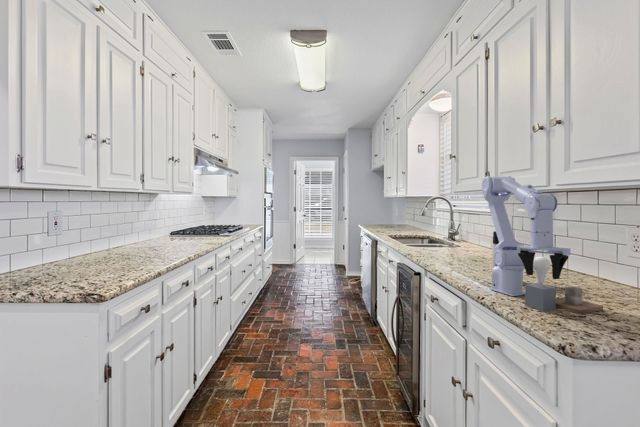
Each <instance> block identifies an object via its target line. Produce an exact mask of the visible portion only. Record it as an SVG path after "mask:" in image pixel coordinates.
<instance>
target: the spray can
mask: <svg viewBox="0 0 640 427" xmlns="http://www.w3.org/2000/svg"><path fill="white" fill-rule="evenodd" d="M492 233H493V234H492V259H491V260H492V261H491V263H492V265H491V271H492V270H493V268H494V267H495V266H497V264H496V263H495V261H494V250H493V249H494V247H495V246H496V245H497V244H498V243H499V240H498V237H497V233H496V230H494V231H493V232H492Z"/></svg>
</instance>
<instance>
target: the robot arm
mask: <svg viewBox="0 0 640 427" xmlns="http://www.w3.org/2000/svg"><path fill="white" fill-rule="evenodd" d="M481 191H482V195H483V198H484V200H485V201H486V202H487V205H488V209H489V211H490V212H489V213H490V216H491V219H492V223H493V226H494V229H495V230H494V231H496V233H497V237H498V240H499V243H498V244H497V245H496V246H495V247H494V249H493V248H492V251H493V250H494V261H495V263H496V264H497V266H495V267H494V268H493V270H492V269H491V287H490V288H489V290H491V291H494V292H496V293H501V294H504V295H506V296H507V295H508V296H511V297H516V296H517V297H518V296H523V295H525V290H524V289H523V285H524V284H523V282H524V280H523V279H524V270H525V273H526V275H527V276H533V275H534V268H533V261H534V259H535V256H536V253H537V254H549V259H550V263H551V272H552V276H551V277H552V280H559V279H561V278H560V277H561V273H562V270H563V267H564V266H565V265H566V262H567V260H568V259H569V256H571V248H568V247H566V248H565V247H556V246H555V247H554V220H553V218H554V215H553V214H554V212H555V210H557V207H558V199H557V197H556V195H554V194H553V193H543V192H542V190H540V189H536V188H534V187H533V185H532V184H524V185H522V184H520V183H519V182H517V181H516V179H515V178H514V177H512V176H511V175H510V176H509V175H508V176H488V175H487V176H485V177H484V178H483V179H482V183H481ZM511 194H513V195H514V198H515V199H516V200H517V201H518V202H520V203H522V204H523V205H525V208H526V211H527V214H528V215H527V217H528V218H530V219H529V220H530V226H529V227H530V245H524V244H523V243H521V242H519V241H517V240H516V239H515V235H514V233H513V231H514V230H513V229H512V226H511V222H510V220H509V217H508V214H507V209H506V206H505V202H507V201H509V199H510V197H511ZM523 290H524V291H523Z"/></svg>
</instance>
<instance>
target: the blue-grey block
mask: <svg viewBox="0 0 640 427" xmlns="http://www.w3.org/2000/svg"><path fill="white" fill-rule="evenodd" d="M524 292H525V296H524V306H525V307H529V308H532V309H534V310H538V311H541V312H547V311H551V310H552V311H553V310H556V297H557V287H555V286H550V285H546V284H544V283H543V284H539V283H538V282H535V283H530V284H529V283H527V284H525V288H524Z"/></svg>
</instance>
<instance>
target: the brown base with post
mask: <svg viewBox="0 0 640 427" xmlns="http://www.w3.org/2000/svg"><path fill="white" fill-rule="evenodd" d="M564 291H565V292H564V296H563V297H558V298H556V307H555V309H556V308H558V309H560V310H562V311H567V312H570V313H573V314H577V315H584V313H585V314H590V313H593V312H601V311H603V310H604V305H601V304H598V303H597V304H596V303H593V302H589V301H585V300H583V288H582V287H581V288H580V287H578V286H573V285H570V286H565V289H564ZM589 312H590V313H589Z"/></svg>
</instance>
